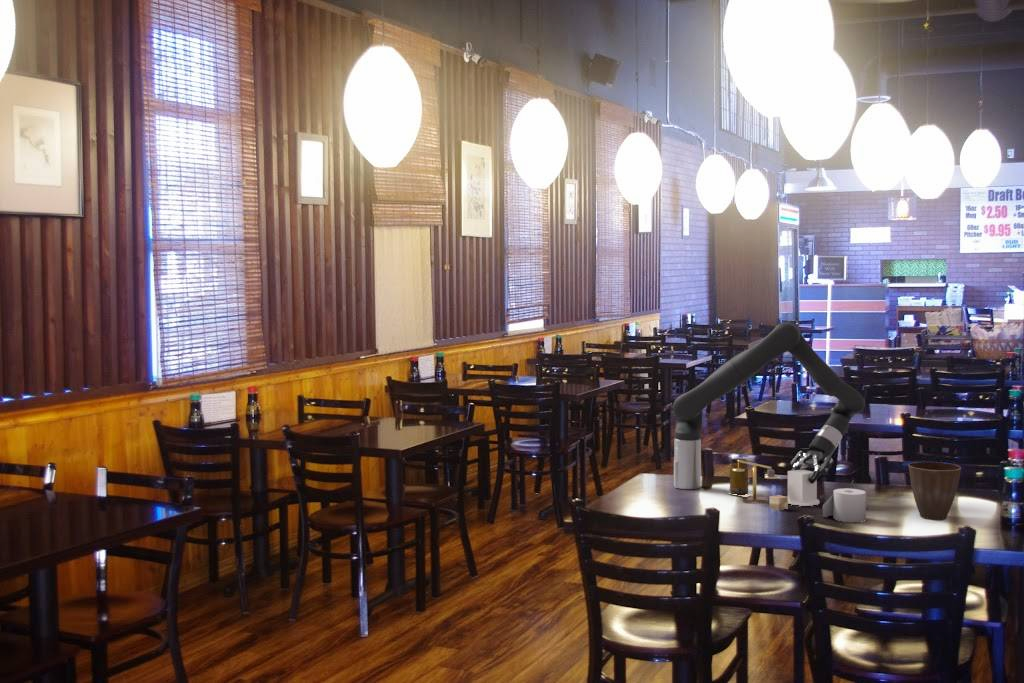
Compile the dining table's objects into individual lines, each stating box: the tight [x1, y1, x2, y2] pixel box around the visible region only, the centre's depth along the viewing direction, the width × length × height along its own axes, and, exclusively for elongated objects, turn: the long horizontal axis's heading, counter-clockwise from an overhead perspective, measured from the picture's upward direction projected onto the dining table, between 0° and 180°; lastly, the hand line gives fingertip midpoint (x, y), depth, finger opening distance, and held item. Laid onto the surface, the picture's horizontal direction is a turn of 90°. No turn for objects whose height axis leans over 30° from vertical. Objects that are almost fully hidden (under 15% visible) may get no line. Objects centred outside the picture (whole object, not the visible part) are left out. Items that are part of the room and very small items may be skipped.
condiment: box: [729, 458, 749, 495], centre depth 354 cm, size 7×8×12 cm
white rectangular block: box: [786, 468, 818, 502], centre depth 339 cm, size 6×6×9 cm
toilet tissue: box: [822, 487, 867, 523], centre depth 315 cm, size 9×13×9 cm
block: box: [769, 494, 789, 511], centre depth 331 cm, size 4×4×4 cm
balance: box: [732, 460, 778, 504], centre depth 342 cm, size 15×5×14 cm, turn 85°
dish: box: [788, 498, 820, 507], centre depth 339 cm, size 11×11×1 cm
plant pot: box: [908, 461, 962, 521], centre depth 317 cm, size 15×15×16 cm
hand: (800, 479), depth 339 cm, fingers open, 8 cm apart
